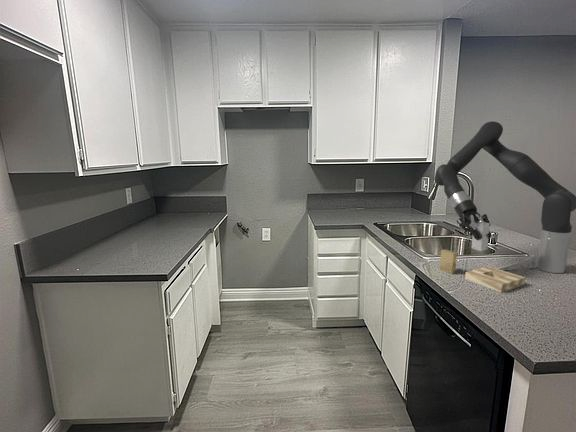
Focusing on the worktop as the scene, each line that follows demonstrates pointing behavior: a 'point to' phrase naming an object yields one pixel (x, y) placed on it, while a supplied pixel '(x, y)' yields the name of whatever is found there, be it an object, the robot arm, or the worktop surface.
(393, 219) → the worktop surface
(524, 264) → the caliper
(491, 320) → the worktop surface
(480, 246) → the square bit
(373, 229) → the worktop surface
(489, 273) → the socket block
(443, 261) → the light brown wooden block
